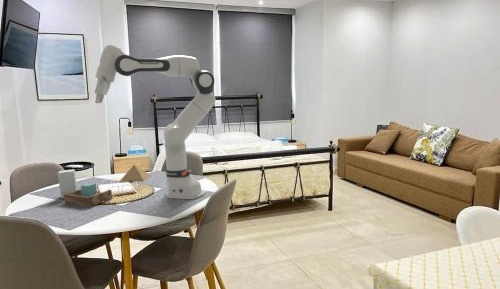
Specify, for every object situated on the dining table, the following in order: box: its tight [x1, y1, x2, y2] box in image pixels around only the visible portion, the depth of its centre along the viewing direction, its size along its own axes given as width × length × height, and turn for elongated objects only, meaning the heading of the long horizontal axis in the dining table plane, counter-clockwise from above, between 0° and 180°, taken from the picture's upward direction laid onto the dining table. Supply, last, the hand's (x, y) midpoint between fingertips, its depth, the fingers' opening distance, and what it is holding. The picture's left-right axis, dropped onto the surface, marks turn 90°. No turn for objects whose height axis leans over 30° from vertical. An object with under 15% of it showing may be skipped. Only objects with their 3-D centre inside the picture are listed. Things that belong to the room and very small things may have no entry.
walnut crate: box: [63, 188, 113, 208], centre depth 192 cm, size 15×18×5 cm
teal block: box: [80, 182, 97, 197], centre depth 192 cm, size 5×5×9 cm
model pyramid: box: [118, 164, 151, 183], centre depth 239 cm, size 17×17×10 cm
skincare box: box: [57, 168, 79, 199], centre depth 201 cm, size 8×6×15 cm
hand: (98, 102), depth 183 cm, fingers open, 8 cm apart
